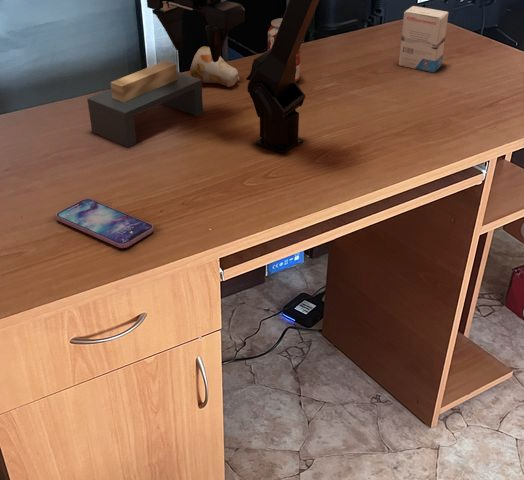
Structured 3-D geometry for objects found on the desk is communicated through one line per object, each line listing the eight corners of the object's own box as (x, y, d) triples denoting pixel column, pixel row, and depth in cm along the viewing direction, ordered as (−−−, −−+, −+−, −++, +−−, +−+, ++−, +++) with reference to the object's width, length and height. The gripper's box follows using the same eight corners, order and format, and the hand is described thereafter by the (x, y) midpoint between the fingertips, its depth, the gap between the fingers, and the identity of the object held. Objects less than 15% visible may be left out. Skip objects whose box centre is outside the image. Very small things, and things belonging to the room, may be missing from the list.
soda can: (304, 77, 169) (306, 20, 161) (291, 88, 164) (293, 30, 156) (275, 72, 171) (276, 15, 163) (262, 83, 166) (262, 25, 158)
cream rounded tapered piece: (233, 94, 162) (207, 52, 157) (202, 104, 169) (176, 63, 163) (251, 74, 166) (226, 31, 160) (220, 84, 172) (195, 44, 167)
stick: (123, 102, 142) (121, 86, 140) (112, 98, 144) (110, 82, 142) (177, 79, 150) (176, 64, 148) (166, 75, 152) (165, 60, 150)
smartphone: (87, 197, 127) (156, 225, 121) (87, 202, 128) (156, 231, 121) (52, 214, 123) (122, 245, 116) (53, 220, 123) (123, 251, 117)
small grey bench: (203, 112, 155) (201, 79, 150) (128, 147, 143) (124, 113, 139) (166, 99, 160) (164, 67, 155) (91, 132, 148) (87, 98, 143)
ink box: (442, 66, 174) (450, 11, 166) (433, 73, 171) (441, 17, 163) (406, 58, 177) (413, 4, 170) (397, 65, 174) (403, 10, 167)
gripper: (265, -38, 133) (264, 55, 143) (185, -56, 142) (190, 32, 152) (221, -24, 126) (224, 73, 136) (140, -44, 135) (148, 48, 145)
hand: (197, 55), depth 143 cm, fingers open, 9 cm apart
